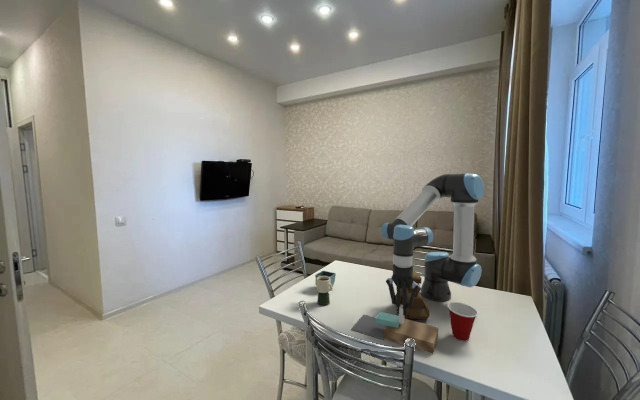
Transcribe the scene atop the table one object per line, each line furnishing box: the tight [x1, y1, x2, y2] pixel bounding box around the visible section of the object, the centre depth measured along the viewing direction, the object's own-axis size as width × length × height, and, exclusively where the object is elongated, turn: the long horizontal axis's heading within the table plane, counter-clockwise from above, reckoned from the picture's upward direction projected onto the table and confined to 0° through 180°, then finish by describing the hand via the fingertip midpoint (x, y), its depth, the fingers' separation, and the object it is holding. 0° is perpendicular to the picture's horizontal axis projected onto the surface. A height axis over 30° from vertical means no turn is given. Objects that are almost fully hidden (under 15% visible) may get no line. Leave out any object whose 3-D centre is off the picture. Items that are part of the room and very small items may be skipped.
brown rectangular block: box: [384, 318, 439, 355], centre depth 107 cm, size 18×12×4 cm, turn 59°
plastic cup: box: [447, 301, 479, 342], centre depth 107 cm, size 11×11×12 cm
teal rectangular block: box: [375, 311, 400, 328], centre depth 111 cm, size 9×6×2 cm, turn 59°
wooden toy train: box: [395, 270, 431, 320], centre depth 126 cm, size 20×11×17 cm, turn 0°
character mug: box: [314, 276, 333, 306], centre depth 136 cm, size 11×7×13 cm, turn 48°
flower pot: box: [315, 270, 337, 288], centre depth 153 cm, size 9×9×9 cm
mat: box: [350, 314, 387, 341], centre depth 115 cm, size 14×14×1 cm
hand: (401, 322), depth 108 cm, fingers closed
